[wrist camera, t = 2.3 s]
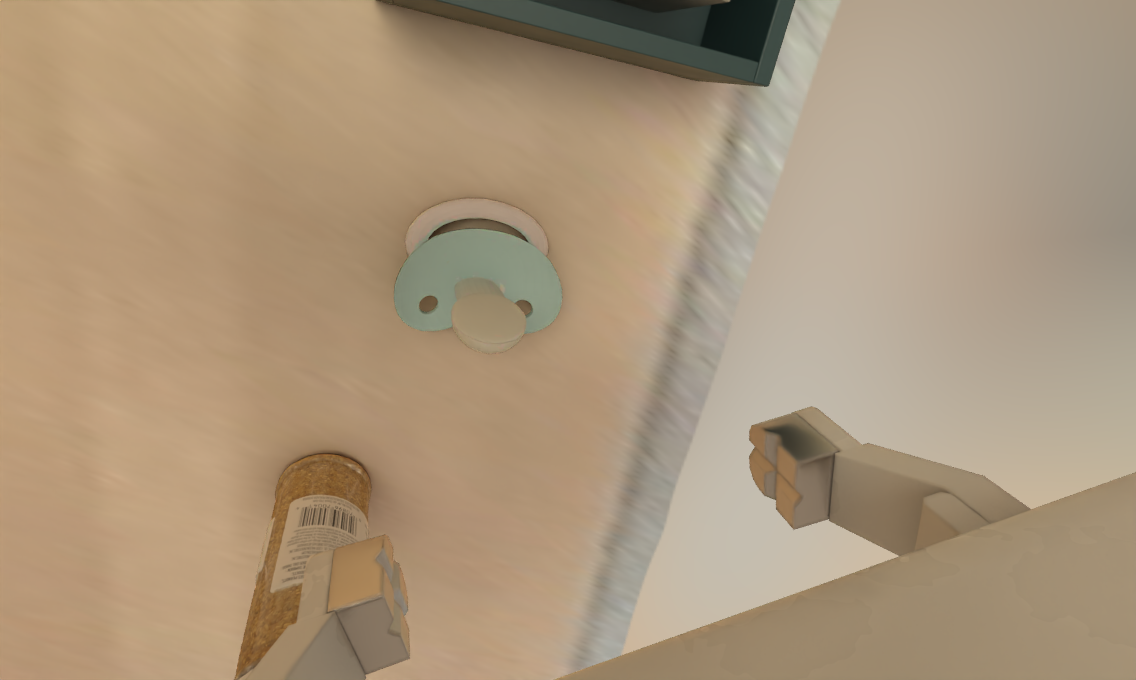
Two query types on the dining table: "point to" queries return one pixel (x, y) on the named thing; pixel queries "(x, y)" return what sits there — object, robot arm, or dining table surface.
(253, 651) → the sprinkles bottle
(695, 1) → the block
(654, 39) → the crate
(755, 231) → the dining table surface
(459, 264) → the pacifier
